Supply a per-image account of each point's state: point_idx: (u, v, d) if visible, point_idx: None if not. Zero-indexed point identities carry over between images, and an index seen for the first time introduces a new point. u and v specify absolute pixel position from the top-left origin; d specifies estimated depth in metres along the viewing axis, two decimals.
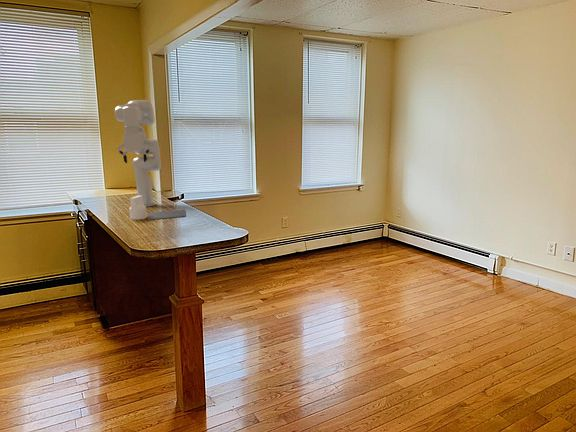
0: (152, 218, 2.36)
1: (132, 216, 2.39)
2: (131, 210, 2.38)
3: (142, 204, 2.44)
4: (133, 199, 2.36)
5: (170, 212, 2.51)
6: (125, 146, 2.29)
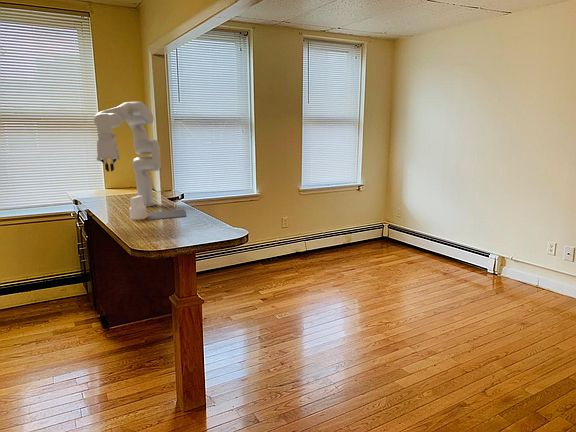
0: (152, 218, 2.36)
1: (132, 216, 2.39)
2: (131, 210, 2.38)
3: (142, 204, 2.44)
4: (133, 199, 2.36)
5: (170, 212, 2.51)
6: (99, 153, 2.29)
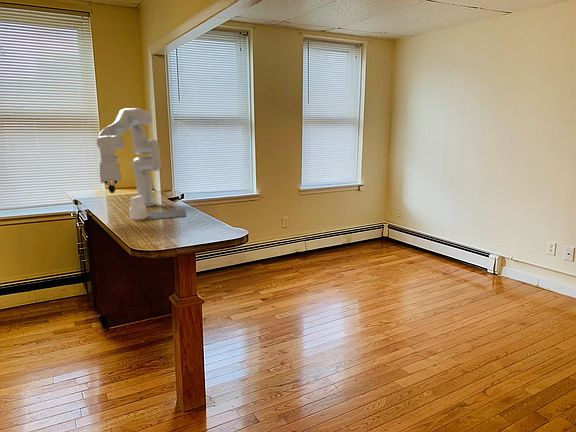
0: (152, 218, 2.36)
1: (132, 216, 2.39)
2: (131, 210, 2.38)
3: (142, 204, 2.44)
4: (133, 199, 2.36)
5: (170, 212, 2.51)
6: (101, 175, 2.31)
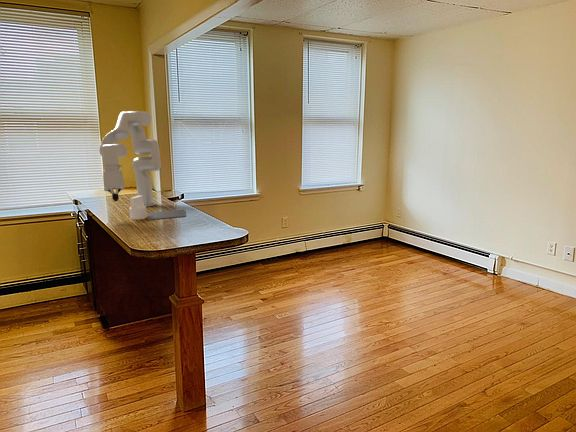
0: (152, 218, 2.36)
1: (132, 216, 2.39)
2: (131, 210, 2.38)
3: (142, 204, 2.44)
4: (133, 199, 2.36)
5: (170, 212, 2.51)
6: (105, 183, 2.33)
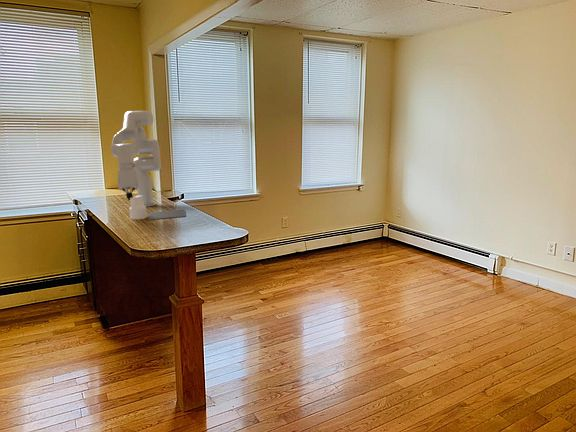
0: (152, 218, 2.36)
1: (132, 216, 2.39)
2: (131, 210, 2.38)
3: (143, 204, 2.44)
4: (133, 199, 2.36)
5: (170, 212, 2.51)
6: (119, 182, 2.35)
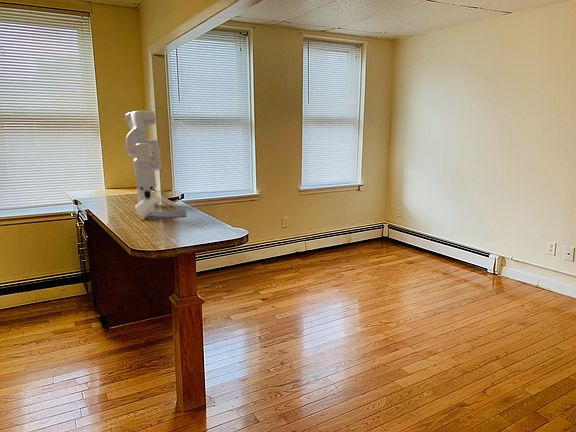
0: (152, 218, 2.36)
1: (138, 209, 2.37)
2: (142, 205, 2.36)
3: (154, 205, 2.43)
4: (153, 202, 2.35)
5: (170, 212, 2.51)
6: (137, 181, 2.37)
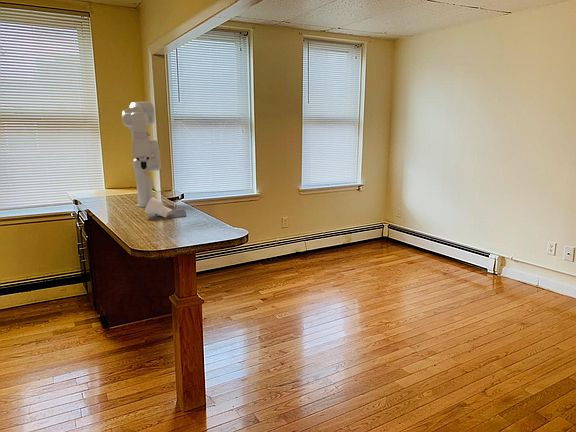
0: (152, 218, 2.36)
1: (149, 205, 2.36)
2: (155, 207, 2.36)
3: None
4: (164, 216, 2.36)
5: None
6: (134, 151, 2.34)
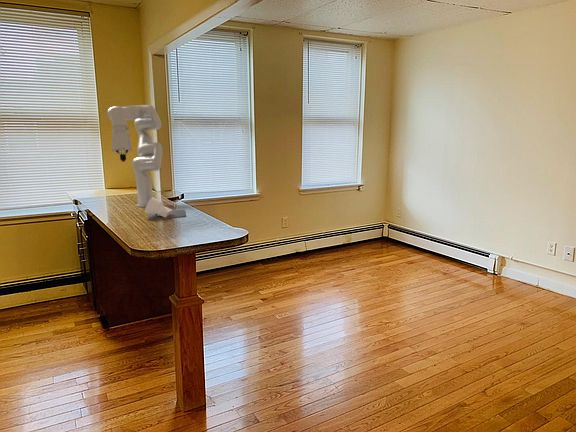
0: (152, 218, 2.36)
1: (149, 205, 2.36)
2: (155, 207, 2.36)
3: None
4: (164, 216, 2.36)
5: None
6: (113, 144, 2.43)
